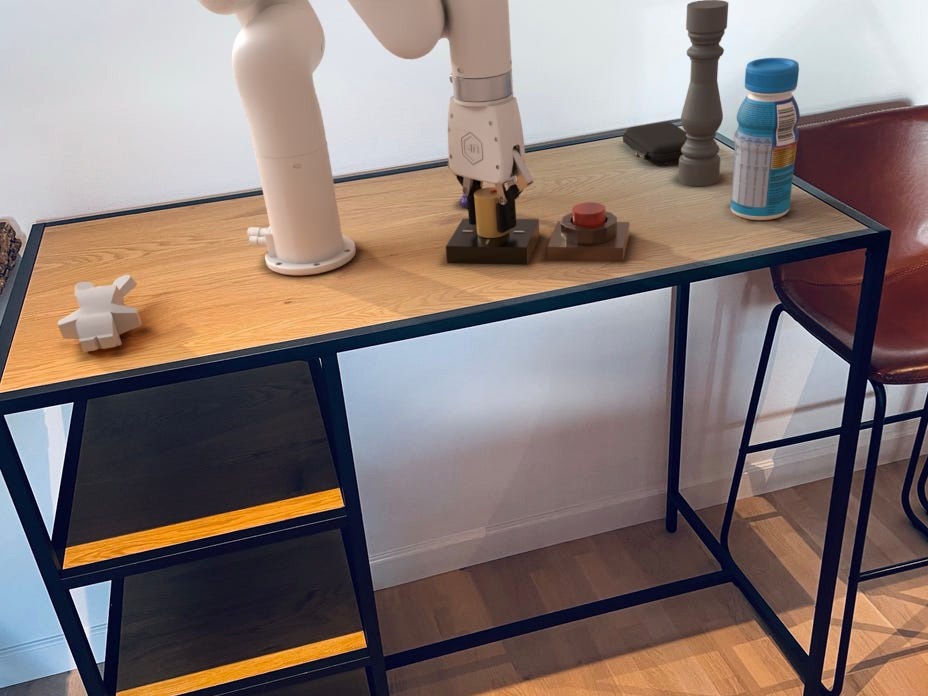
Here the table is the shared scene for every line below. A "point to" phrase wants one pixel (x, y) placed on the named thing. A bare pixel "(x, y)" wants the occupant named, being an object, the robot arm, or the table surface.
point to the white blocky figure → (101, 315)
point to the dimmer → (493, 244)
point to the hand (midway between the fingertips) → (492, 224)
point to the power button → (588, 214)
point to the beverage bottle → (766, 140)
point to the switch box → (589, 241)
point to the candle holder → (703, 93)
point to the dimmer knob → (487, 212)
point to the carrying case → (656, 142)
